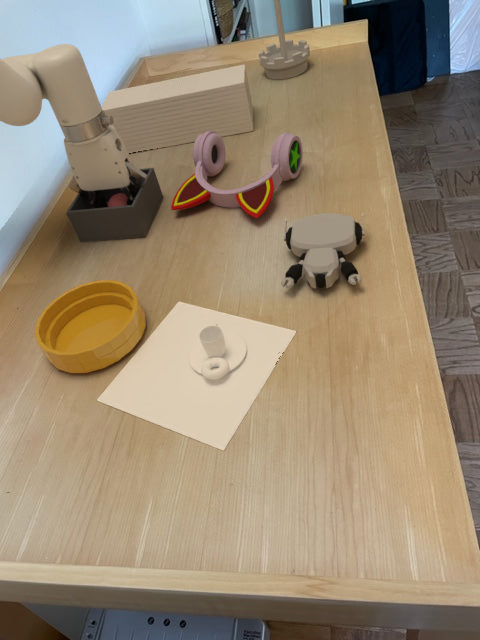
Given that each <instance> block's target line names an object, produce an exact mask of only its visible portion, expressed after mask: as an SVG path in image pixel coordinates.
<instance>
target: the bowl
mask: <svg viewBox="0 0 480 640" xmlns="http://www.w3.org/2000/svg"><path fill="white" fill-rule="evenodd" d="M146 327H147V323H146V313H145V311H144V309H143V306H142V304H141V302H140V300H139V297H138V295H137V294H136V292H135V290H134V289H133V287H132V286H130V285H128V284H127V283H124V282H122V281H119V280H113V279H101V280H93V281H90V282H89V281H88V282H85V283H81V284H79V285H77V286H75V287H73V288H71V289H69V290H66V291H65V292H63V293H62V294H60V295H59V296H58V297H56V298H54V299H53V301H51V302H50V303H49V304H48V305H47V306H46V307H45V308H44V310H43V311H42V312H41V314H40V316H39V318H38V319H37V321H36V323H35V327H34V328H35V330H34V336H35V340H36V344H37V345H38V347H39V348H40V349H41V351H42V353H43V354H44V356H45V357H46V359H47V361H48V362H49V363H50V364H51V365H52V366H54V367H55V368H56V369H57V370H60V371H62V372H65V373H69V374H86V373H90V372H95V371H98V370H102V369H106V368H107V367H109V366H111V365H113V364H115V363H117V362H119V361H120V360H121V359H122V358H124V357H125V356H126V355H128V354H129V353H130V352H131V351H132V350H133V349H134V348H135V347H136V346H137V344H138V343H139V341H140V340H141V339H142V338H143V335H144V333H145V329H146Z"/></svg>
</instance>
